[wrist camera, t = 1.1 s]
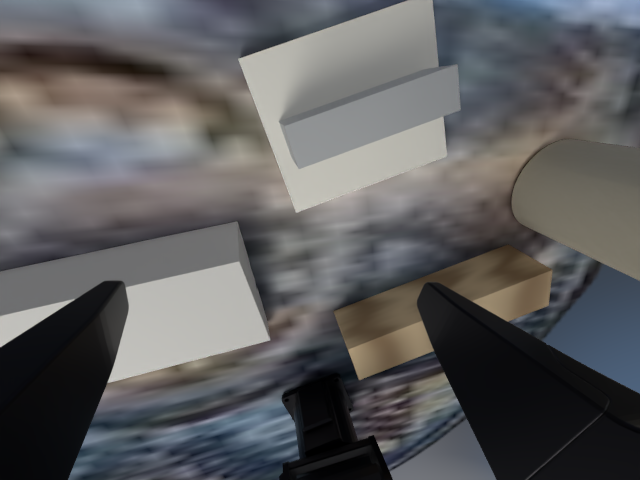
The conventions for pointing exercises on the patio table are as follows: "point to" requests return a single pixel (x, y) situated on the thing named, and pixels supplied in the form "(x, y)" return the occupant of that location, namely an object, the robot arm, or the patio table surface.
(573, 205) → the travel mug
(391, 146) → the fulcrum stand
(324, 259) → the patio table surface
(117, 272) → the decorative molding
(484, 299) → the oak bar
